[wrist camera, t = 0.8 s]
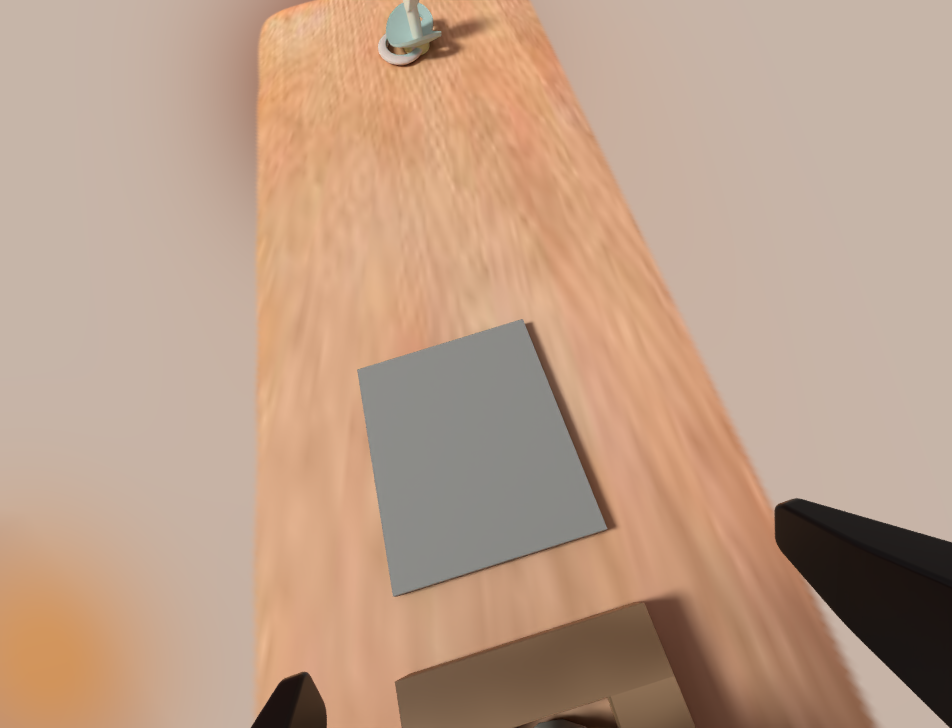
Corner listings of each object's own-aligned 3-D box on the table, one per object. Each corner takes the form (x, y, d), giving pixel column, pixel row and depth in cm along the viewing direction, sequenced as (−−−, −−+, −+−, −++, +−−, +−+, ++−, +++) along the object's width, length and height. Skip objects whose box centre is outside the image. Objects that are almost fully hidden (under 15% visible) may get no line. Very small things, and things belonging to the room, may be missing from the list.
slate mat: (605, 530, 20) (607, 529, 20) (396, 596, 20) (393, 596, 20) (523, 323, 26) (522, 319, 26) (360, 373, 26) (357, 369, 25)
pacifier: (389, 79, 41) (449, 57, 41) (363, -1, 36) (433, -26, 36) (374, 42, 45) (430, 22, 45) (348, -35, 39) (412, -58, 39)
